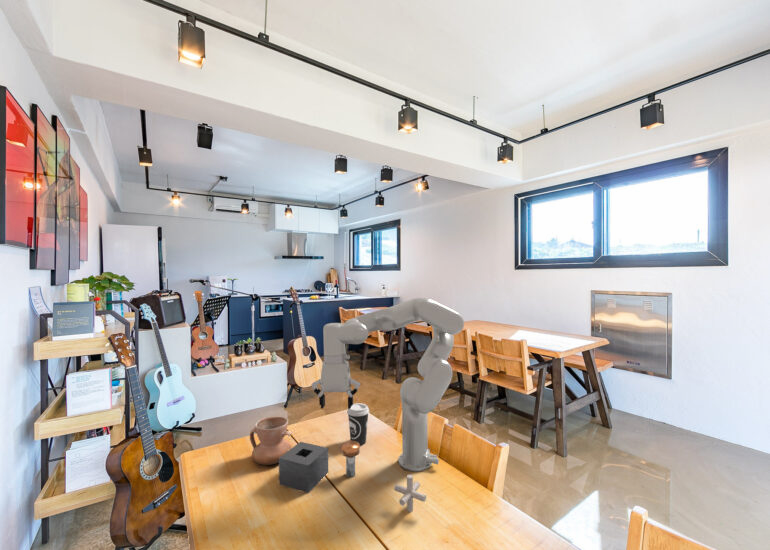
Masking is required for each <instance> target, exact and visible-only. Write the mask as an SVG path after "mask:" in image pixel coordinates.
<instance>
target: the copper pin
mask: <svg viewBox="0 0 770 550" xmlns="http://www.w3.org/2000/svg"><path fill="white" fill-rule="evenodd" d="M360 447H361V446H360V444H359V443H358V442H356V441H351V440H347V441H345V442H343V443H341V455H342V456H343V457H345V472H346V473H345V476H346V477H347V476H348V477H347V478H353V477H356V457H357V456H358V455H359V454H360V453H361V452H360Z"/></svg>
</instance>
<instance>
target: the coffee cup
mask: <svg viewBox="0 0 770 550" xmlns="http://www.w3.org/2000/svg"><path fill="white" fill-rule="evenodd" d="M369 413H370V409H369V406H368V405H367V404H365V403H360V402H359V403H353V405H352V406H351V408H350V409H349V408H348V407H347V410H346V414H347V415H348V425H349V427H348V428H349V438H350V440H349V441H356V442H358V443H359V444H360V445H361V446H363V444H364V445H365V444H366V443H367V434H368V432H367V431H368V422H369V421H368V420H369Z"/></svg>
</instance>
